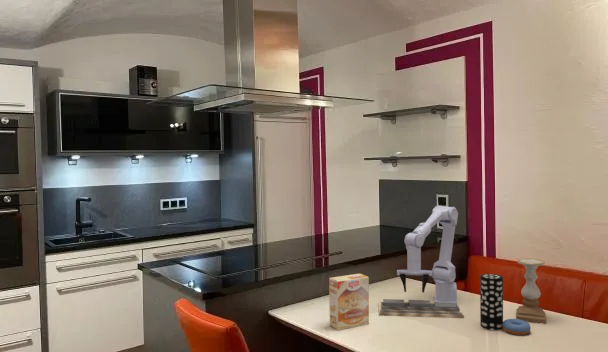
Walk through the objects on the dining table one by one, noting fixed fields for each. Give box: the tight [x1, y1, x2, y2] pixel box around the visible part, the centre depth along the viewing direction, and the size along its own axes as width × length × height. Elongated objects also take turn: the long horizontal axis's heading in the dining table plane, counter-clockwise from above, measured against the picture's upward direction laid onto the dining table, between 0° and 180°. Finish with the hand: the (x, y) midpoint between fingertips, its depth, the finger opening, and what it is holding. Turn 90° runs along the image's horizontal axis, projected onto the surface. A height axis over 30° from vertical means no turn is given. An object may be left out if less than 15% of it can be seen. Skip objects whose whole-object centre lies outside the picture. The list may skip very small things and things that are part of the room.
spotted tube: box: [479, 273, 504, 331], centre depth 189 cm, size 8×8×20 cm
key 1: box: [382, 298, 405, 306], centre depth 211 cm, size 9×5×2 cm, turn 82°
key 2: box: [433, 302, 457, 308], centre depth 208 cm, size 9×5×2 cm, turn 82°
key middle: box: [408, 299, 431, 307], centre depth 209 cm, size 9×5×2 cm, turn 82°
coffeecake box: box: [328, 273, 370, 331], centre depth 194 cm, size 15×7×20 cm, turn 117°
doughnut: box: [502, 318, 532, 336], centre depth 184 cm, size 10×10×5 cm
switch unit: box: [378, 301, 465, 319], centre depth 210 cm, size 35×15×3 cm, turn 82°
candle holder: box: [515, 257, 547, 325], centre depth 198 cm, size 11×11×24 cm
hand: (414, 291), depth 209 cm, fingers open, 7 cm apart
